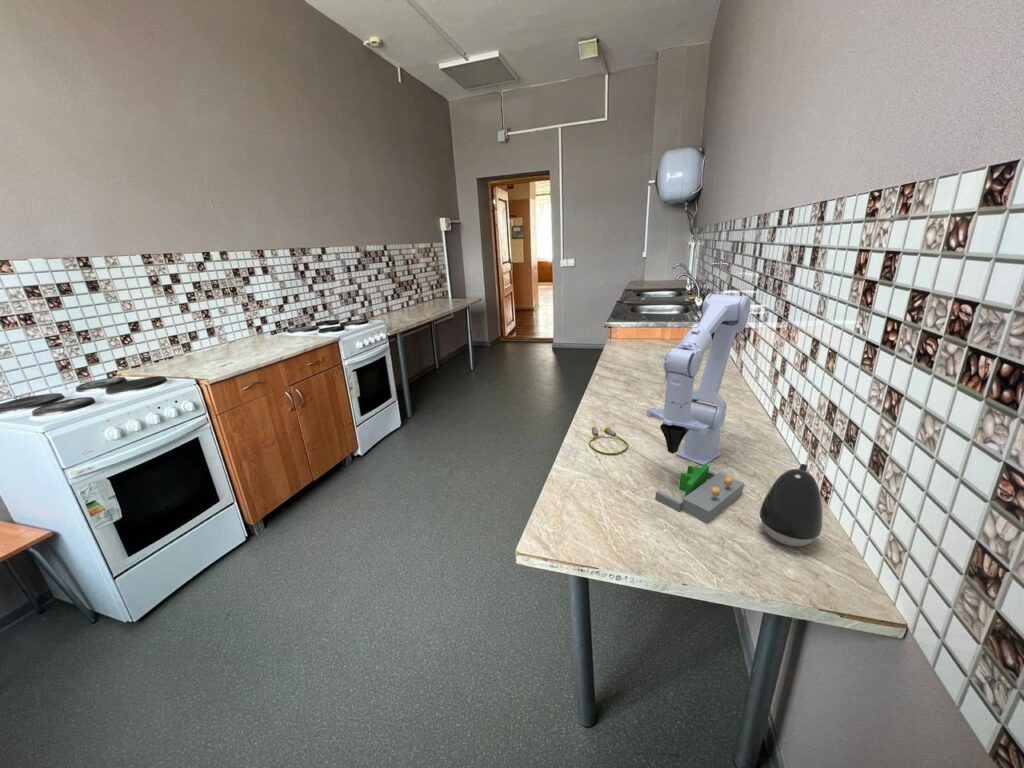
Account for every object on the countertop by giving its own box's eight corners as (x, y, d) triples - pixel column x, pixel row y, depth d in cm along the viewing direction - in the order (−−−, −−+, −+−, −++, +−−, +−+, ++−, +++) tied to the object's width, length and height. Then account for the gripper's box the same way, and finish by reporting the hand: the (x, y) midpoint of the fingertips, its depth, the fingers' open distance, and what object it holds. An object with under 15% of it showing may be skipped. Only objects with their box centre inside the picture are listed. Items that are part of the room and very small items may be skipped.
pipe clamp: (691, 475, 104) (693, 460, 102) (706, 481, 101) (709, 465, 100) (673, 495, 96) (675, 478, 95) (689, 501, 94) (691, 484, 92)
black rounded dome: (820, 533, 82) (837, 468, 77) (812, 563, 75) (831, 493, 70) (763, 513, 89) (775, 451, 84) (750, 538, 81) (764, 473, 76)
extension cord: (631, 435, 127) (632, 429, 126) (625, 459, 113) (626, 453, 112) (592, 429, 131) (592, 424, 130) (582, 453, 117) (582, 446, 116)
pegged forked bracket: (695, 471, 105) (698, 452, 103) (744, 492, 96) (748, 471, 94) (655, 499, 95) (657, 478, 93) (705, 525, 86) (708, 502, 84)
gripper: (641, 395, 97) (637, 446, 102) (699, 413, 86) (692, 469, 91) (658, 388, 101) (653, 437, 106) (715, 405, 90) (708, 458, 95)
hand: (672, 451), depth 98 cm, fingers closed
